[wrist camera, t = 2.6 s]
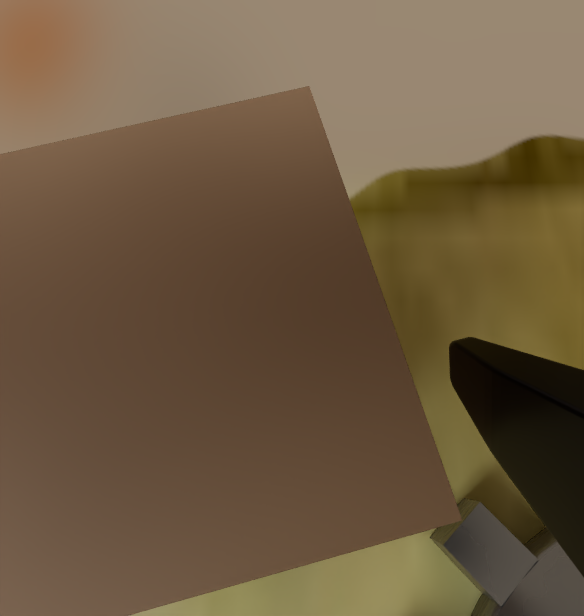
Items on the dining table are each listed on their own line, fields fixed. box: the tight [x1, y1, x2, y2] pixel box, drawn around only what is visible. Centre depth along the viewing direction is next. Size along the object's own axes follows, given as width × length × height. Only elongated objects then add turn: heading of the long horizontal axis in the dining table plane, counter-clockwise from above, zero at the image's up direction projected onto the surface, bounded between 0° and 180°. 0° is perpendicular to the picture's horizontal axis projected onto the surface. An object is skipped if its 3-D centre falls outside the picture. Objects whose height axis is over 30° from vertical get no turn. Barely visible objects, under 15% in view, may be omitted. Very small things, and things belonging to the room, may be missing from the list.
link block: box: [0, 86, 462, 616], centre depth 10 cm, size 5×5×13 cm
